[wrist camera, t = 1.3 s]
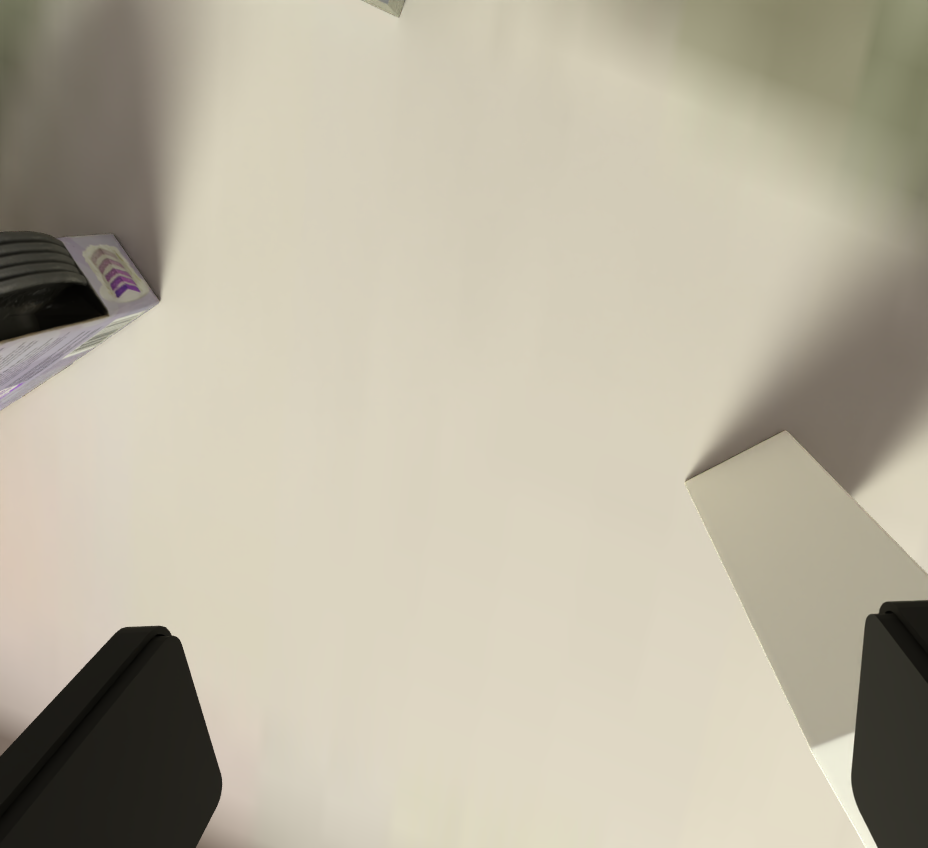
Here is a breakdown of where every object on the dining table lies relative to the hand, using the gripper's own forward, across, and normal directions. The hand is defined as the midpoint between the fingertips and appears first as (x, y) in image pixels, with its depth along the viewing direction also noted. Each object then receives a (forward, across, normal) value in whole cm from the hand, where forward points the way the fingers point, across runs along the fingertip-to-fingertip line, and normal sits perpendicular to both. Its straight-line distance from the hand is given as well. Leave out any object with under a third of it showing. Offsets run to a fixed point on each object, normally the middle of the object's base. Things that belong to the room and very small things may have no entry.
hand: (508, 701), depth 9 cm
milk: (+28, -11, +11) cm, 32 cm away
